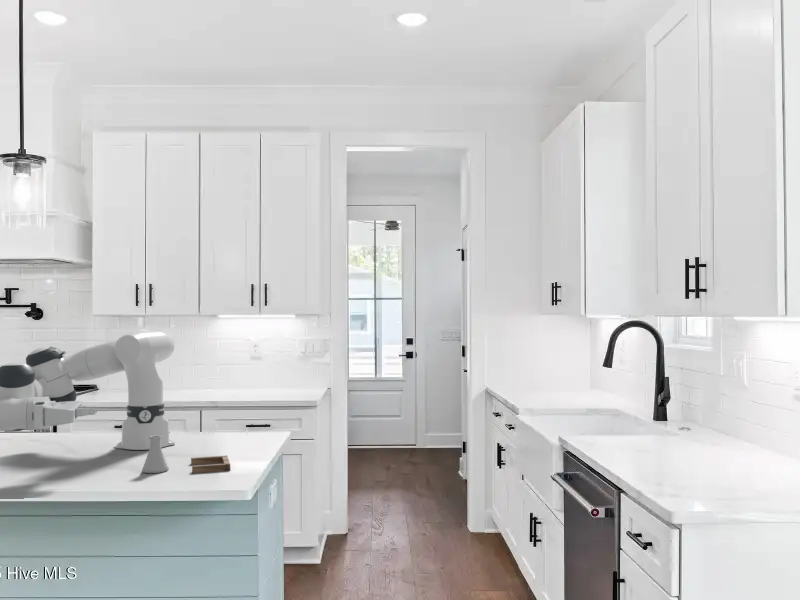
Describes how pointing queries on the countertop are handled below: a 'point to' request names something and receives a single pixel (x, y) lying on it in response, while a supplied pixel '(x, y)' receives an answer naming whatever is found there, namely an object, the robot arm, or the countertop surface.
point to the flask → (155, 457)
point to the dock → (211, 467)
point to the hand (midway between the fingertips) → (96, 410)
